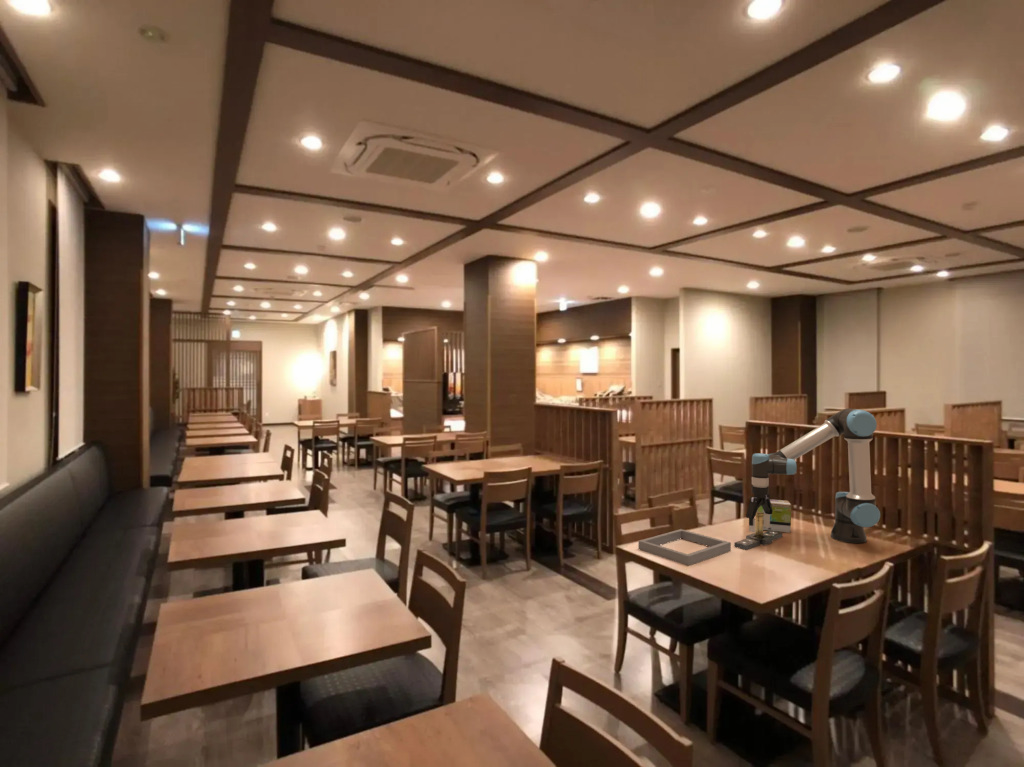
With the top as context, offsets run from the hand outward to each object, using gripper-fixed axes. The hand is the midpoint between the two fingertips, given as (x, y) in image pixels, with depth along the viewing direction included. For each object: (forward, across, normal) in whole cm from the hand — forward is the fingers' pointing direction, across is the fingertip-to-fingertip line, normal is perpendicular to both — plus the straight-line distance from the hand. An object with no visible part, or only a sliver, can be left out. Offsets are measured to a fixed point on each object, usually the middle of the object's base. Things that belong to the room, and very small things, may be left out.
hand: (759, 529), depth 272 cm
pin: (+6, 0, 0) cm, 6 cm away
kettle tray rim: (+6, +40, -14) cm, 43 cm away
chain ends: (+6, 0, 0) cm, 6 cm away
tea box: (+6, -27, -7) cm, 29 cm away
